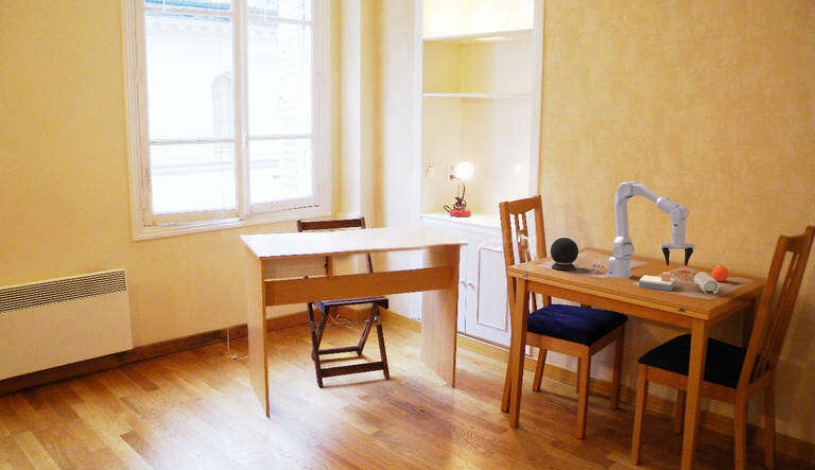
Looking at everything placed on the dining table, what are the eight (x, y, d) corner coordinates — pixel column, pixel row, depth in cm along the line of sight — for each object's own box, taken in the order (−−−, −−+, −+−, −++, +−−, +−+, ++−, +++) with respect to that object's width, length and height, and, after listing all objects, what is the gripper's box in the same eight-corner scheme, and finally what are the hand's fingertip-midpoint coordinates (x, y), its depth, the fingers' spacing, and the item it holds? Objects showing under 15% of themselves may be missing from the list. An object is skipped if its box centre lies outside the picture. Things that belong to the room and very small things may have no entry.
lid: (639, 281, 326) (640, 272, 325) (644, 276, 334) (644, 268, 333) (670, 285, 320) (671, 276, 319) (674, 280, 328) (675, 271, 327)
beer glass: (704, 288, 332) (714, 298, 318) (690, 282, 332) (699, 291, 318) (712, 275, 331) (722, 283, 316) (698, 268, 331) (707, 276, 316)
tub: (638, 288, 326) (639, 281, 326) (643, 283, 335) (644, 276, 334) (670, 292, 320) (670, 285, 320) (674, 287, 329) (674, 280, 328)
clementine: (706, 279, 343) (707, 264, 341) (717, 278, 345) (719, 262, 344) (719, 283, 335) (721, 268, 334) (731, 282, 338) (733, 266, 337)
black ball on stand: (575, 272, 353) (576, 241, 350) (547, 270, 358) (548, 239, 355) (579, 266, 365) (581, 236, 362) (552, 264, 370) (553, 234, 367)
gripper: (662, 235, 321) (661, 266, 323) (698, 235, 319) (696, 267, 322) (659, 232, 328) (657, 263, 330) (693, 233, 326) (692, 263, 329)
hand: (676, 265), depth 326 cm, fingers open, 7 cm apart
